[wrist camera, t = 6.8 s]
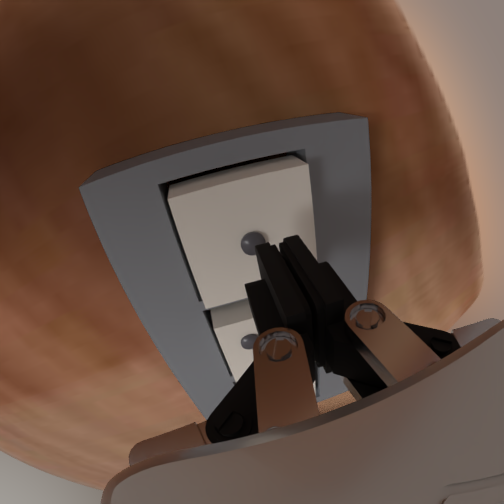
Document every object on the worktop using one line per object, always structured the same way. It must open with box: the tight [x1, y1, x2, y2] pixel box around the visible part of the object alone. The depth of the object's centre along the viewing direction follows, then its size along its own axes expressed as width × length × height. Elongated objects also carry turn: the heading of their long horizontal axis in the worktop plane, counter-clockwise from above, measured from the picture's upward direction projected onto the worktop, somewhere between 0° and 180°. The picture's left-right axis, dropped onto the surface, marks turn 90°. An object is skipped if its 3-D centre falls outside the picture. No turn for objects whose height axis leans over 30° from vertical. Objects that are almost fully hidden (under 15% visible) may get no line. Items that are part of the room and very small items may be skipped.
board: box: [79, 112, 371, 420], centre depth 19 cm, size 24×14×3 cm, turn 10°
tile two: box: [210, 299, 258, 382], centre depth 18 cm, size 6×6×2 cm
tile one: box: [168, 155, 317, 309], centre depth 14 cm, size 6×6×2 cm
